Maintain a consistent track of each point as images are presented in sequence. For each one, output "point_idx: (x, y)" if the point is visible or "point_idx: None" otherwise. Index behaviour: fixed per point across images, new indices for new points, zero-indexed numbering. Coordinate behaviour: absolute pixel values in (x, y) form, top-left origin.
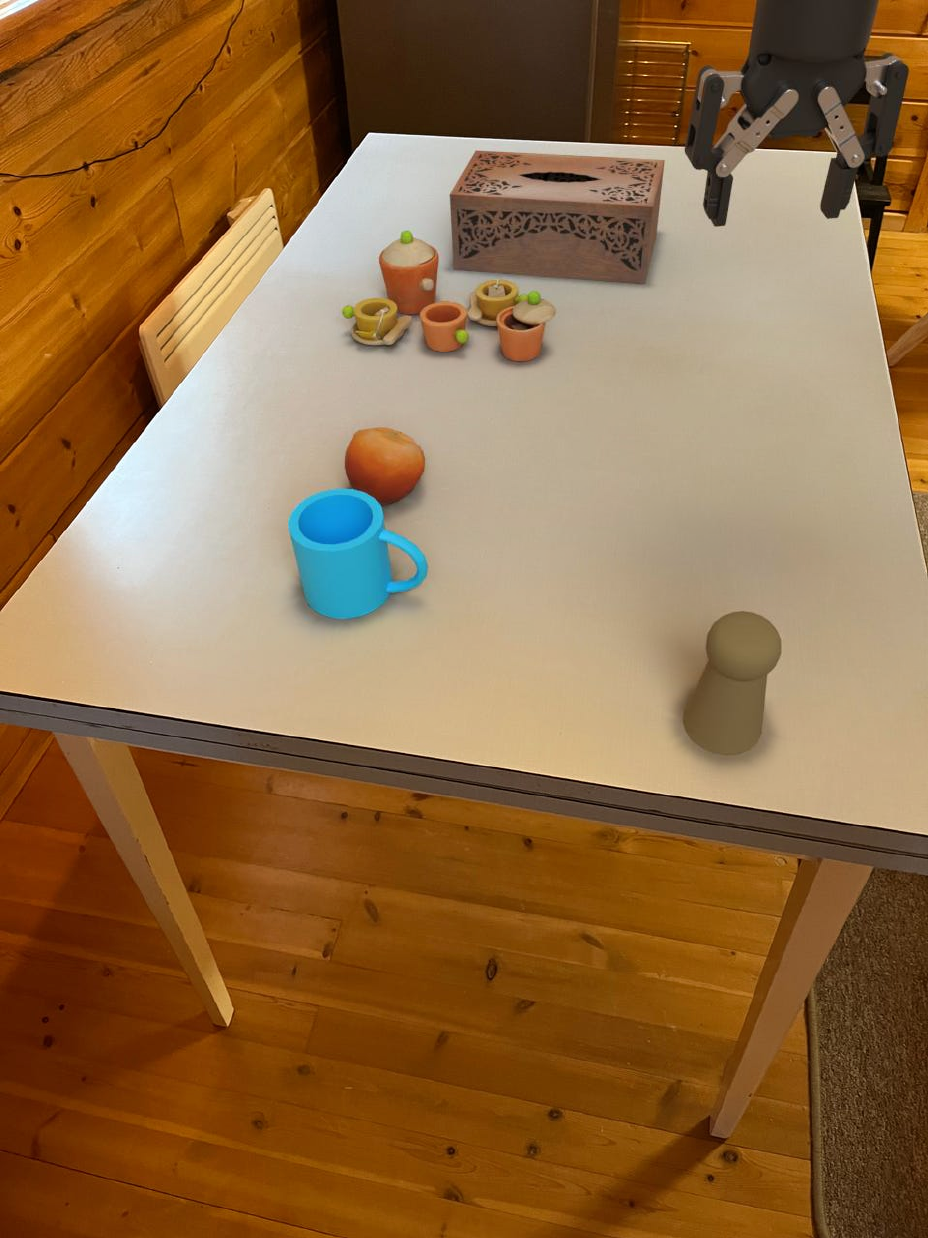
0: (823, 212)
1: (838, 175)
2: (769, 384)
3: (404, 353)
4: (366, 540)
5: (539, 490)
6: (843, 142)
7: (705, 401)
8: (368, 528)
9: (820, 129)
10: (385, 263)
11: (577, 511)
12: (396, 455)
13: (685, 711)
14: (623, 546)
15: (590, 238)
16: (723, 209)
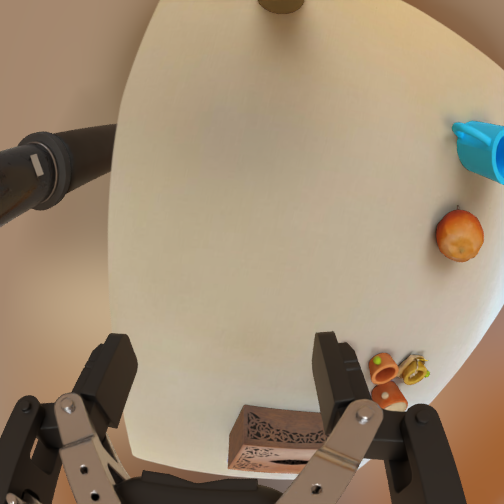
0: (133, 352)
1: (102, 389)
2: (178, 314)
3: (403, 351)
4: (499, 131)
5: (364, 215)
6: (83, 439)
7: (225, 301)
8: (498, 142)
9: (134, 480)
10: (406, 403)
11: (344, 190)
12: (465, 227)
13: (303, 1)
14: (318, 148)
15: (279, 429)
16: (332, 350)
